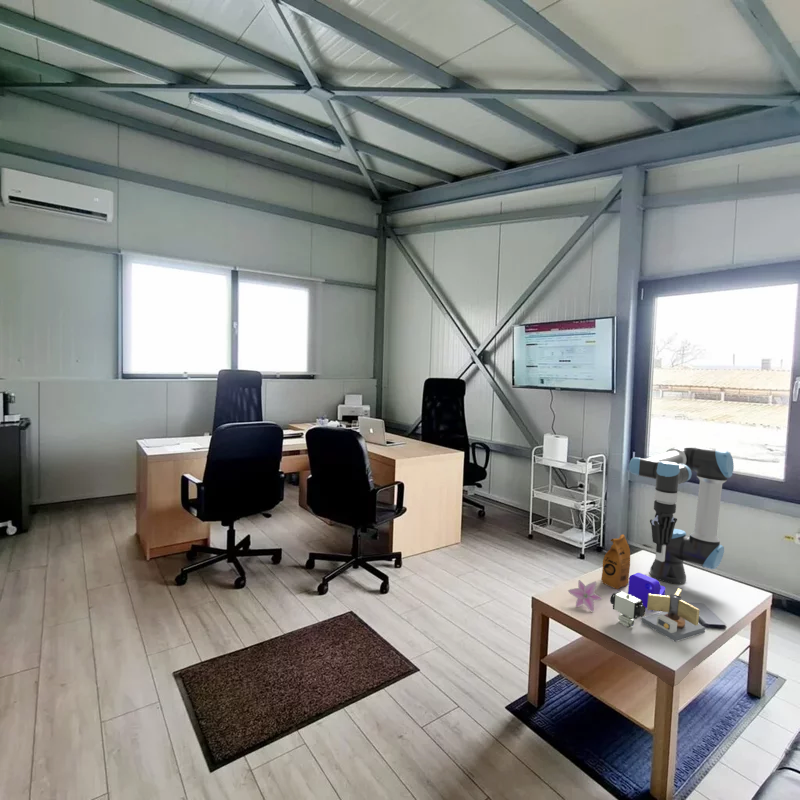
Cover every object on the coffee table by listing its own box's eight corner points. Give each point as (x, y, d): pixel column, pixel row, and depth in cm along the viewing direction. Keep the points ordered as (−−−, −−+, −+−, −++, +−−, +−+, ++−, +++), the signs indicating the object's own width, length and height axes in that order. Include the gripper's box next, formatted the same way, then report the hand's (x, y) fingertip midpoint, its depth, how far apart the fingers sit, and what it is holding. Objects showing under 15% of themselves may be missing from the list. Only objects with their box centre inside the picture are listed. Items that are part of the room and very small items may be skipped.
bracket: (652, 611, 195) (654, 583, 194) (627, 599, 204) (629, 573, 203) (674, 600, 205) (677, 574, 204) (649, 590, 214) (652, 564, 213)
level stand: (670, 614, 193) (671, 601, 192) (704, 632, 180) (706, 618, 180) (640, 622, 186) (641, 608, 185) (673, 642, 173) (674, 627, 172)
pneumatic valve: (637, 633, 178) (640, 602, 177) (608, 618, 187) (610, 589, 186) (645, 628, 181) (647, 598, 180) (615, 614, 190) (618, 586, 189)
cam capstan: (639, 607, 193) (641, 583, 192) (678, 612, 190) (680, 588, 190) (654, 630, 176) (656, 604, 175) (697, 635, 174) (700, 609, 173)
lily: (563, 601, 202) (565, 588, 196) (581, 586, 207) (583, 572, 202) (588, 622, 193) (590, 608, 188) (605, 605, 198) (608, 591, 193)
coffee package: (597, 582, 219) (600, 536, 218) (611, 575, 227) (615, 531, 225) (617, 590, 211) (621, 543, 210) (632, 584, 219) (635, 537, 217)
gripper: (667, 497, 191) (662, 554, 193) (645, 500, 185) (640, 558, 187) (685, 502, 184) (680, 561, 186) (662, 505, 178) (657, 566, 180)
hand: (660, 560), depth 186 cm, fingers closed
